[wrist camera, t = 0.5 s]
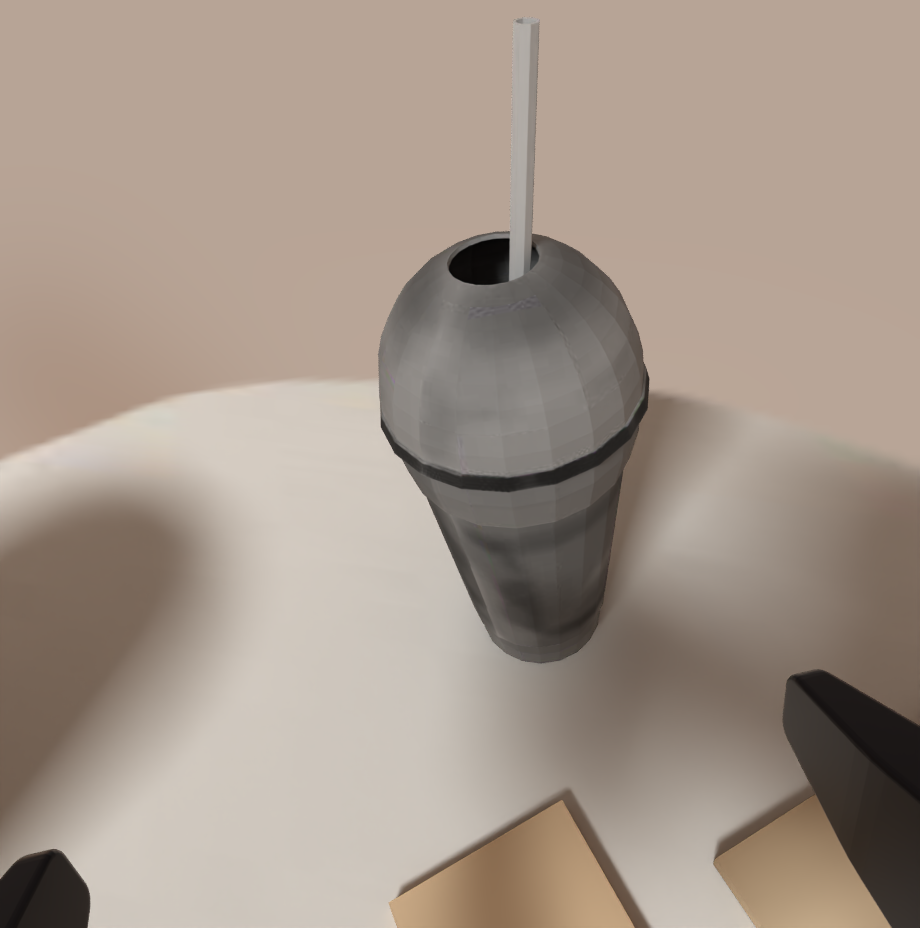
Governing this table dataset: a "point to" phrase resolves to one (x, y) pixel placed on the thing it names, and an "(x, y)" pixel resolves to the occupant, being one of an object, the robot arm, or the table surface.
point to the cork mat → (798, 875)
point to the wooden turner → (519, 883)
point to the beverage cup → (518, 408)
